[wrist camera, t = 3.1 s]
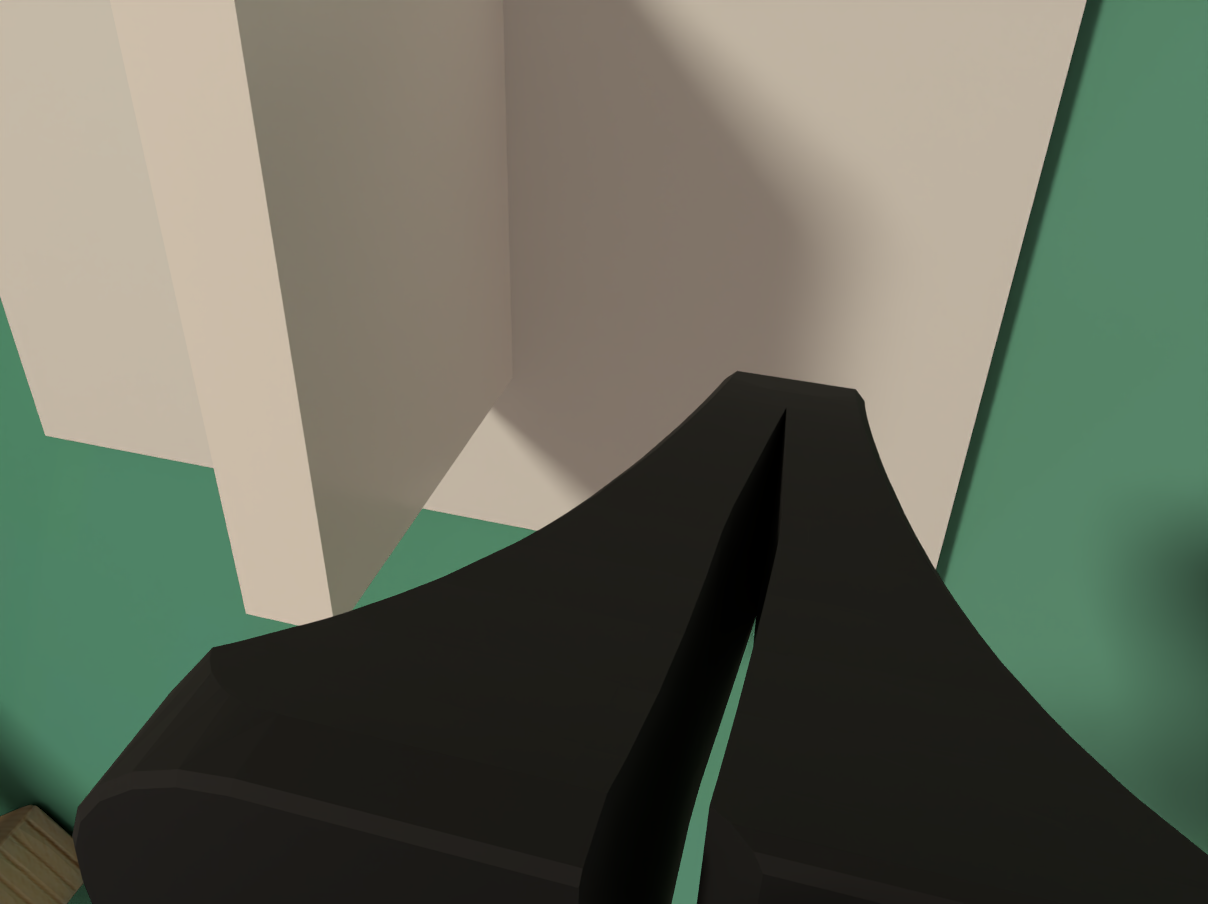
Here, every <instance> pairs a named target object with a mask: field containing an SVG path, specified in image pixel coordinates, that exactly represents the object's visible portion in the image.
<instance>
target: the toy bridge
mask: <svg viewBox="0 0 1208 904" xmlns="http://www.w3.org/2000/svg"><path fill="white" fill-rule="evenodd" d="M83 883H84V882H83V880H82V876H81V872H80V868H79V864H78V860H77V855H76V851H75V847H74V842H73V837H72V836H70V835H69V834H68V833H67V832H66V831H65V830H64V829H63V828H61V827H60V826H59V825H58V824H57V823H56V822H55V821H54V820H52V819H51V818H50V817H49V816H48V815H47V814H46V813H44V812H43V811H42V810H41V809H40V808H38V807H37V806H33V805H28V806H25V807H22V808H20V809H17V810H15V811H12V812H10V813H7V814H5V815H2V816H0V904H67V903H68V902H69V901H70V899H71V898H72V897H73V895H74V894H75V893H76V892H77V890H78V889H79V888H80V887H81V885H82V884H83Z"/></svg>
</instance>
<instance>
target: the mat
mask: <svg viewBox="0 0 1208 904" xmlns="http://www.w3.org/2000/svg"><path fill="white" fill-rule="evenodd" d="M1086 1H1087V0H503V21H504V59H505V98H506V136H507V174H508V212H509V250H510V289H511V327H512V365H513V378H512V379H511V381H510V382H509V383H508V385H507V386H506V388H505V389H504V391H503V392H502V394H501V395H500V396H499V398H498V399H497V401H496V402H495V404H494V405H493V407H492V408H491V410H490V411H489V412H488V414H487V415H486V417H485V418H484V420H483V421H482V423H481V424H480V425H479V427H478V428H477V430H476V431H475V433H474V434H473V436H472V437H471V438H470V440H469V441H468V443H467V444H466V446H465V447H464V449H463V450H462V452H461V453H460V454H459V456H458V457H457V459H456V460H455V462H454V463H453V465H452V466H451V467H450V469H449V470H448V472H447V473H446V475H445V476H444V478H443V479H442V480H441V482H440V483H439V485H438V486H437V488H436V489H435V491H434V492H433V494H432V495H431V496H430V498H429V499H428V501H427V502H426V504H425V505H424V507H423V509H428V510H434V511H439V512H444V513H449V514H454V515H459V516H465V517H470V518H475V519H480V520H485V521H490V522H496V523H501V524H506V525H511V526H516V527H521V528H527V529H532V530H537V531H538V530H540V529H541V528H543V527H545V526H546V525H548V524H550V523H551V522H553V521H555V520H556V519H558V518H559V517H561V516H563V515H564V514H566V513H567V512H569V511H570V510H572V509H573V508H575V507H576V506H578V505H579V504H581V503H582V502H584V501H585V500H587V499H588V498H589V497H591V496H592V495H594V494H595V493H596V492H598V491H599V490H600V489H602V488H603V487H604V486H606V485H607V484H608V483H610V482H611V481H612V480H614V479H615V478H616V477H618V476H619V475H620V474H622V473H623V472H624V471H626V470H627V469H628V468H630V467H631V466H632V465H634V464H635V463H636V462H637V461H638V460H640V459H641V458H642V457H643V456H645V455H646V454H647V453H648V452H649V451H650V450H651V449H653V448H654V447H655V446H656V445H657V444H658V443H659V442H661V441H662V440H663V439H664V438H665V437H666V436H667V435H669V434H670V433H671V432H672V431H673V430H674V429H676V428H677V427H678V426H679V425H680V424H681V423H682V422H683V421H684V420H685V419H686V418H687V417H688V416H689V415H690V414H692V413H693V412H694V411H695V410H696V409H697V408H698V407H699V406H700V405H701V404H702V403H703V402H704V401H705V400H706V399H707V398H708V397H709V396H710V395H711V394H712V393H713V391H714V390H715V389H716V388H717V387H718V386H719V385H720V384H721V383H722V382H723V381H724V380H725V379H726V378H727V377H729V376H730V375H732V374H733V373H735V372H736V371H741V372H748V373H754V374H761V375H767V376H774V377H780V378H787V379H793V380H800V381H806V382H813V383H819V384H826V385H832V386H839V387H845V388H852V389H856V390H857V391H858V393H859V394H860V395H861V397H862V398H863V399H864V401H865V409H866V414H867V418H868V422H869V426H870V429H871V433H872V436H873V439H874V442H875V445H876V448H877V450H878V453H879V456H880V459H881V461H882V464H883V466H884V469H885V471H886V474H887V476H888V478H889V481H890V483H891V485H892V487H893V489H894V491H895V494H896V496H897V498H898V500H899V502H900V504H901V507H902V509H903V511H904V513H905V515H906V517H907V519H908V521H909V523H910V525H911V527H912V529H913V531H914V533H915V535H916V536H917V538H918V540H919V542H920V543H921V545H922V547H923V549H924V550H925V552H926V554H927V556H928V557H929V559H930V561H931V563H932V564H933V566H934V568H935V569H936V567H937V563H938V559H939V555H940V552H941V548H942V544H943V540H944V537H945V533H946V529H947V525H948V521H949V518H950V514H951V510H952V506H953V503H954V499H955V495H956V491H957V488H958V484H959V480H960V476H961V472H962V469H963V465H964V461H965V457H966V454H967V450H968V446H969V442H970V438H971V435H972V431H973V427H974V423H975V420H976V416H977V412H978V408H979V404H980V401H981V397H982V393H983V389H984V386H985V382H986V378H987V374H988V370H989V367H990V363H991V359H992V355H993V352H994V348H995V344H996V340H997V337H998V333H999V329H1000V325H1001V321H1002V318H1003V314H1004V310H1005V306H1006V303H1007V299H1008V295H1009V291H1010V287H1011V284H1012V280H1013V276H1014V272H1015V269H1016V265H1017V261H1018V257H1019V253H1020V250H1021V246H1022V242H1023V238H1024V235H1025V231H1026V227H1027V223H1028V220H1029V216H1030V212H1031V208H1032V204H1033V201H1034V197H1035V193H1036V189H1037V186H1038V182H1039V178H1040V174H1041V170H1042V167H1043V163H1044V159H1045V155H1046V152H1047V148H1048V144H1049V140H1050V136H1051V133H1052V129H1053V125H1054V121H1055V118H1056V114H1057V110H1058V106H1059V103H1060V99H1061V95H1062V91H1063V87H1064V84H1065V80H1066V76H1067V72H1068V69H1069V65H1070V61H1071V57H1072V53H1073V50H1074V46H1075V42H1076V38H1077V35H1078V31H1079V27H1080V23H1081V19H1082V16H1083V12H1084V8H1085V4H1086ZM0 297H1V300H2V303H3V306H4V309H5V313H6V316H7V319H8V322H9V325H10V328H11V331H12V334H13V337H14V340H15V343H16V346H17V349H18V353H19V356H20V359H21V362H22V365H23V368H24V371H25V374H26V377H27V380H28V383H29V386H30V389H31V393H32V396H33V399H34V402H35V405H36V408H37V411H38V414H39V417H40V420H41V423H42V426H43V429H44V433H45V436H50V437H56V438H61V439H66V440H71V441H76V442H82V443H87V444H92V445H97V446H102V447H107V448H113V449H118V450H123V451H128V452H133V453H138V454H144V455H149V456H154V457H159V458H164V459H170V460H175V461H180V462H185V463H190V464H195V465H201V466H206V467H211V468H214V467H213V462H212V458H211V453H210V449H209V444H208V440H207V435H206V431H205V426H204V422H203V417H202V413H201V408H200V404H199V399H198V395H197V390H196V386H195V381H194V377H193V372H192V368H191V363H190V359H189V354H188V350H187V345H186V341H185V336H184V332H183V327H182V323H181V318H180V314H179V309H178V305H177V300H176V296H175V291H174V287H173V282H172V278H171V273H170V269H169V264H168V260H167V255H166V251H165V246H164V242H163V237H162V233H161V228H160V224H159V219H158V215H157V210H156V206H155V201H154V197H153V192H152V188H151V183H150V179H149V174H148V170H147V165H146V161H145V156H144V152H143V147H142V143H141V138H140V134H139V129H138V125H137V120H136V116H135V111H134V107H133V102H132V98H131V93H130V89H129V84H128V80H127V75H126V71H125V66H124V62H123V57H122V53H121V48H120V44H119V39H118V35H117V30H116V26H115V21H114V17H113V12H112V8H111V3H110V0H0Z"/></svg>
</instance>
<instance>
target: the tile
mask: <svg viewBox="0 0 1208 904" xmlns="http://www.w3.org/2000/svg"><path fill="white" fill-rule="evenodd" d="M110 3H111V8H112V12H113V17H114V21H115V26H116V30H117V35H118V39H119V44H120V48H121V53H122V57H123V62H124V66H125V71H126V75H127V80H128V84H129V89H130V93H131V98H132V102H133V107H134V111H135V116H136V120H137V125H138V129H139V134H140V138H141V143H142V147H143V152H144V156H145V161H146V165H147V170H148V174H149V179H150V183H151V188H152V192H153V197H154V201H155V206H156V210H157V215H158V219H159V224H160V228H161V233H162V237H163V242H164V246H165V251H166V255H167V260H168V264H169V269H170V273H171V278H172V282H173V287H174V291H175V296H176V300H177V305H178V309H179V314H180V318H181V323H182V327H183V332H184V336H185V341H186V345H187V350H188V354H189V359H190V363H191V368H192V372H193V377H194V381H195V386H196V390H197V395H198V399H199V404H200V408H201V413H202V417H203V422H204V426H205V431H206V435H207V440H208V444H209V449H210V453H211V458H212V462H213V467H214V471H215V476H216V480H217V485H218V489H219V494H220V498H221V503H222V507H223V512H224V516H225V521H226V525H227V530H228V534H229V539H230V543H231V548H232V552H233V557H234V561H235V566H236V570H237V575H238V579H239V584H240V588H241V593H242V597H243V602H244V606H245V611H246V614H250V615H254V616H259V617H263V618H268V619H272V620H277V621H281V622H286V623H290V624H295V625H299V626H300V625H304V624H308V623H311V622H315V621H319V620H323V619H326V618H329V617H332V616H336V615H339V614H342V613H345V612H349V611H352V609H353V608H354V606H355V605H356V604H357V602H358V601H359V599H360V598H361V596H362V595H363V593H364V592H365V591H366V589H367V588H368V586H369V585H370V583H371V582H372V580H373V579H374V577H375V576H376V575H377V573H378V572H379V570H380V569H381V567H382V566H383V564H384V563H385V562H386V560H387V559H388V557H389V556H390V554H391V553H392V551H393V550H394V549H395V547H396V546H397V544H398V543H399V541H400V540H401V538H402V537H403V535H404V534H405V533H406V531H407V530H408V528H409V527H410V525H411V524H412V522H413V521H414V520H415V518H416V517H417V515H418V514H419V512H420V511H421V509H422V508H423V507H424V505H425V504H426V502H427V501H428V499H429V498H430V496H431V495H432V494H433V492H434V491H435V489H436V488H437V486H438V485H439V483H440V482H441V480H442V479H443V478H444V476H445V475H446V473H447V472H448V470H449V469H450V467H451V466H452V465H453V463H454V462H455V460H456V459H457V457H458V456H459V454H460V453H461V452H462V450H463V449H464V447H465V446H466V444H467V443H468V441H469V440H470V438H471V437H472V436H473V434H474V433H475V431H476V430H477V428H478V427H479V425H480V424H481V423H482V421H483V420H484V418H485V417H486V415H487V414H488V412H489V411H490V410H491V408H492V407H493V405H494V404H495V402H496V401H497V399H498V398H499V396H500V395H501V394H502V392H503V391H504V389H505V388H506V386H507V385H508V383H509V382H510V381H511V379H512V378H513V365H512V327H511V289H510V250H509V212H508V174H507V136H506V98H505V59H504V21H503V0H110Z"/></svg>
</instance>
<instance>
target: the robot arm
mask: <svg viewBox="0 0 1208 904" xmlns="http://www.w3.org/2000/svg"><path fill="white" fill-rule="evenodd" d="M755 618H756V625H755V635H754V646H753V650H752V654H751V658H750V662H749V666H748V670H747V673H746V677H745V681H744V685H743V689H742V693H741V696H740V700H739V704H738V708H737V712H736V715H735V719H734V722H733V726H732V730H731V733H730V737H729V740H728V744H727V747H726V751H725V754H724V758H723V762H722V765H721V769H720V772H719V776H718V779H717V783H716V786H715V789H714V793H713V796H712V800H711V803H710V807H709V814H708V822H707V830H706V838H705V845H704V853H703V861H702V869H701V876H700V884H699V892H698V900H697V904H1208V855H1207V854H1206V853H1205V852H1203V851H1202V850H1201V849H1200V848H1198V847H1197V846H1196V845H1195V844H1193V843H1192V842H1191V841H1190V840H1189V839H1187V838H1186V837H1185V836H1184V835H1182V834H1181V833H1180V832H1179V831H1177V830H1176V829H1175V828H1174V827H1172V826H1171V825H1170V824H1169V823H1167V822H1166V821H1165V820H1164V819H1162V818H1161V817H1160V816H1159V815H1158V814H1156V813H1155V812H1154V811H1153V810H1151V809H1150V808H1149V807H1148V806H1146V805H1145V804H1144V803H1143V802H1141V801H1140V800H1139V799H1138V798H1136V797H1135V796H1134V795H1133V794H1132V793H1131V792H1130V791H1128V790H1127V789H1126V788H1125V787H1124V786H1123V785H1122V784H1121V783H1120V782H1118V781H1117V780H1116V779H1115V778H1114V777H1113V776H1112V775H1111V774H1110V773H1109V772H1108V771H1107V770H1106V769H1105V768H1103V767H1102V766H1101V765H1100V764H1099V763H1098V762H1097V761H1096V760H1095V759H1094V758H1093V757H1092V756H1091V755H1090V754H1088V753H1087V752H1086V751H1085V750H1084V749H1083V748H1082V747H1081V746H1080V745H1079V744H1078V743H1077V742H1076V741H1075V740H1074V739H1072V738H1071V737H1070V736H1069V735H1068V734H1067V733H1066V732H1065V731H1064V730H1063V729H1062V728H1061V726H1060V725H1059V724H1058V723H1057V722H1056V721H1055V720H1054V719H1053V718H1052V717H1051V716H1050V715H1049V714H1048V713H1047V712H1046V711H1045V710H1044V709H1043V708H1042V707H1041V705H1040V704H1039V703H1038V702H1037V701H1036V700H1035V699H1034V698H1033V697H1032V696H1031V694H1030V693H1029V692H1028V691H1027V690H1026V689H1025V688H1024V687H1023V686H1022V684H1021V683H1020V682H1019V681H1018V680H1017V679H1016V678H1015V677H1014V676H1013V674H1012V673H1011V672H1010V671H1009V670H1008V669H1007V668H1006V667H1005V666H1004V665H1003V663H1002V662H1001V661H1000V660H999V659H998V657H997V656H996V655H995V653H994V652H993V651H992V650H991V648H990V647H989V646H988V645H987V643H986V642H985V641H984V640H983V638H982V637H981V636H980V634H979V633H978V632H977V630H976V629H975V627H974V626H973V625H972V623H971V622H970V620H969V619H968V618H967V616H966V615H965V614H964V612H963V611H962V609H961V608H960V607H959V605H958V604H957V602H956V601H955V599H954V598H953V596H952V595H951V593H950V592H949V590H948V589H947V587H946V586H945V584H944V582H943V581H942V579H941V578H940V576H939V574H938V573H937V571H936V569H935V568H934V566H933V564H932V563H931V561H930V559H929V557H928V556H927V554H926V552H925V550H924V549H923V547H922V545H921V543H920V542H919V540H918V538H917V536H916V535H915V533H914V531H913V529H912V527H911V525H910V523H909V521H908V519H907V517H906V515H905V513H904V511H903V509H902V507H901V504H900V502H899V500H898V498H897V496H896V494H895V491H894V489H893V487H892V485H891V483H890V481H889V478H888V476H887V474H886V471H885V469H884V466H883V464H882V461H881V459H880V456H879V453H878V450H877V448H876V445H875V442H874V439H873V436H872V433H871V429H870V426H869V422H868V418H867V414H866V409H865V401H864V399H863V398H862V397H861V395H860V394H859V393H858V391H857V390H856V389H852V388H845V387H839V386H832V385H826V384H819V383H813V382H806V381H800V380H793V379H787V378H780V377H774V376H767V375H761V374H754V373H748V372H741V371H736V372H735V373H733V374H732V375H730V376H729V377H727V378H726V379H725V380H724V381H723V382H722V383H721V384H720V385H719V386H718V387H717V388H716V389H715V390H714V391H713V393H712V394H711V395H710V396H709V397H708V398H707V399H706V400H705V401H704V402H703V403H702V404H701V405H700V406H699V407H698V408H697V409H696V410H695V411H694V412H693V413H692V414H690V415H689V416H688V417H687V418H686V419H685V420H684V421H683V422H682V423H681V424H680V425H679V426H678V427H677V428H676V429H674V430H673V431H672V432H671V433H670V434H669V435H667V436H666V437H665V438H664V439H663V440H662V441H661V442H659V443H658V444H657V445H656V446H655V447H654V448H653V449H651V450H650V451H649V452H648V453H647V454H646V455H645V456H643V457H642V458H641V459H640V460H638V461H637V462H636V463H635V464H634V465H632V466H631V467H630V468H628V469H627V470H626V471H624V472H623V473H622V474H620V475H619V476H618V477H616V478H615V479H614V480H612V481H611V482H610V483H608V484H607V485H606V486H604V487H603V488H602V489H600V490H599V491H598V492H596V493H595V494H594V495H592V496H591V497H589V498H588V499H587V500H585V501H584V502H582V503H581V504H579V505H578V506H576V507H575V508H573V509H572V510H570V511H569V512H567V513H566V514H564V515H563V516H561V517H559V518H558V519H556V520H555V521H553V522H551V523H550V524H548V525H546V526H545V527H543V528H541V529H540V530H538V531H536V532H534V533H533V534H531V535H529V536H528V537H526V538H524V539H522V540H520V541H518V542H516V543H514V544H512V545H510V546H508V547H506V548H504V549H502V550H499V551H497V552H495V553H493V554H491V555H489V556H487V557H485V558H482V559H480V560H478V561H476V562H474V563H472V564H470V565H468V566H465V567H463V568H461V569H459V570H457V571H455V572H453V573H451V574H448V575H446V576H444V577H442V578H439V579H437V580H434V581H432V582H429V583H427V584H424V585H421V586H419V587H416V588H414V589H411V590H409V591H406V592H403V593H401V594H398V595H395V596H393V597H390V598H387V599H384V600H381V601H378V602H375V603H372V604H369V605H366V606H364V607H361V608H358V609H355V610H352V611H349V612H345V613H342V614H339V615H336V616H332V617H329V618H326V619H323V620H319V621H315V622H311V623H308V624H304V625H300V626H296V627H292V628H289V629H285V630H281V631H277V632H273V633H270V634H266V635H262V636H258V637H255V638H251V639H247V640H243V641H239V642H235V643H231V644H226V645H222V646H218V647H213V648H212V649H211V650H210V651H209V652H208V653H207V654H206V655H205V656H204V657H203V658H202V660H201V661H200V662H199V663H198V664H197V665H196V666H195V667H194V668H193V669H192V670H191V671H190V672H189V673H188V674H187V675H186V676H185V677H184V679H183V680H182V681H181V682H180V683H179V684H178V685H177V686H176V687H175V688H174V689H173V690H172V691H171V692H170V694H169V695H168V696H167V697H166V699H165V700H164V701H163V702H162V704H161V705H160V706H159V707H158V709H157V710H156V711H155V712H154V714H153V715H152V716H151V717H150V719H149V720H148V721H147V722H146V723H145V725H144V726H143V727H142V728H141V730H140V731H139V732H138V733H137V735H136V736H135V737H134V738H133V740H132V741H131V742H130V743H129V744H128V746H127V747H126V748H125V749H124V751H123V752H122V753H121V754H120V756H119V757H118V758H117V759H116V761H115V762H114V763H113V764H112V766H111V767H110V768H109V769H108V770H107V772H106V773H105V774H104V775H103V777H102V778H101V779H100V780H99V782H98V783H97V784H96V785H95V787H94V788H93V789H92V790H91V791H90V793H89V794H88V795H87V796H86V798H85V799H84V800H83V801H82V803H81V804H80V805H79V806H78V809H77V814H76V819H75V825H74V830H73V835H72V836H73V842H74V847H75V851H76V855H77V860H78V864H79V868H80V872H81V876H82V880H83V882H84V885H85V887H86V890H87V892H88V894H89V897H90V899H91V902H92V904H671V903H672V898H673V894H674V889H675V885H676V880H677V876H678V871H679V867H680V862H681V858H682V853H683V849H684V844H685V840H686V835H687V831H688V826H689V822H690V819H691V815H692V812H693V808H694V805H695V801H696V797H697V794H698V790H699V787H700V783H701V780H702V777H703V774H704V771H705V768H706V765H707V762H708V759H709V756H710V753H711V750H712V747H713V744H714V741H715V738H716V735H717V732H718V729H719V726H720V723H721V720H722V717H723V714H724V711H725V708H726V705H727V702H728V699H729V696H730V693H731V690H732V687H733V684H734V681H735V678H736V675H737V672H738V669H739V666H740V663H741V660H742V657H743V654H744V651H745V648H746V645H747V642H748V639H749V636H750V633H751V630H752V627H753V624H754V621H755Z"/></svg>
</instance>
